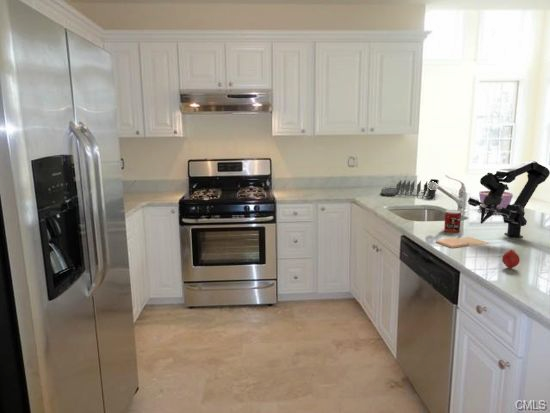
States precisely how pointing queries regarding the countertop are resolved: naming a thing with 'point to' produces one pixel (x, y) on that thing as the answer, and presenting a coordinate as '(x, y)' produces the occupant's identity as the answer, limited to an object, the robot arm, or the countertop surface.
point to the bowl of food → (505, 197)
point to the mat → (472, 241)
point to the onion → (510, 259)
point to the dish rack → (403, 187)
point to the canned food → (452, 220)
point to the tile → (452, 243)
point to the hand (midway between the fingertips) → (481, 223)
